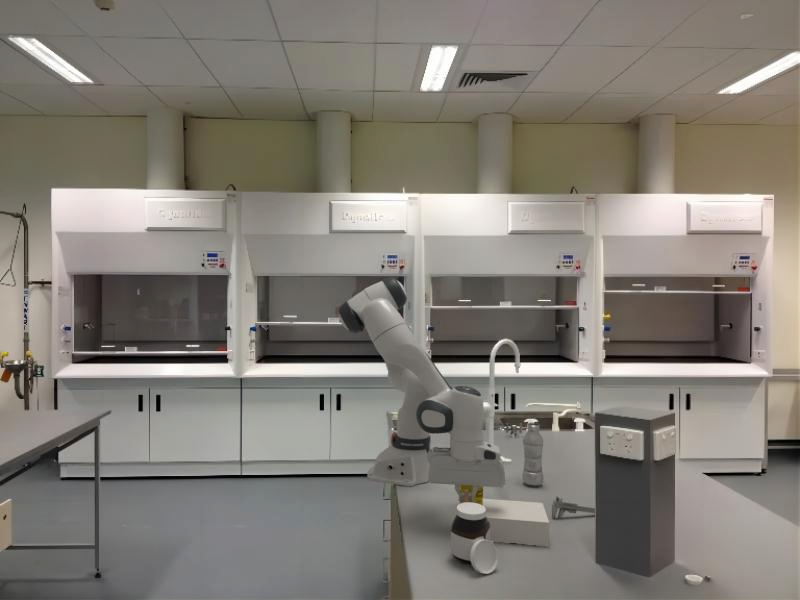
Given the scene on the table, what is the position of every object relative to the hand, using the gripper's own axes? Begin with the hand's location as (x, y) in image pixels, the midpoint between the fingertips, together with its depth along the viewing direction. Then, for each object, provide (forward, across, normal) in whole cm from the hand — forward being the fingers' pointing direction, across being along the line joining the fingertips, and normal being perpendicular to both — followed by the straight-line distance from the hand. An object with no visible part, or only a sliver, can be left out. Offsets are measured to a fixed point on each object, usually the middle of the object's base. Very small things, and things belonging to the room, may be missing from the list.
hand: (466, 501), depth 131 cm
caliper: (+8, +34, +14) cm, 37 cm away
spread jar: (+8, +2, -16) cm, 18 cm away
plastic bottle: (+8, +22, +36) cm, 42 cm away
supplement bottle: (+8, +2, +14) cm, 16 cm away
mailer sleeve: (+7, +12, 0) cm, 14 cm away
